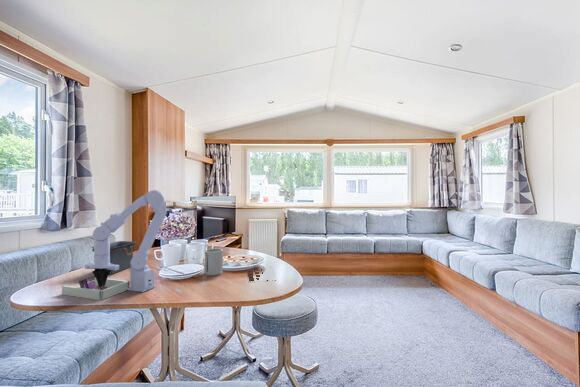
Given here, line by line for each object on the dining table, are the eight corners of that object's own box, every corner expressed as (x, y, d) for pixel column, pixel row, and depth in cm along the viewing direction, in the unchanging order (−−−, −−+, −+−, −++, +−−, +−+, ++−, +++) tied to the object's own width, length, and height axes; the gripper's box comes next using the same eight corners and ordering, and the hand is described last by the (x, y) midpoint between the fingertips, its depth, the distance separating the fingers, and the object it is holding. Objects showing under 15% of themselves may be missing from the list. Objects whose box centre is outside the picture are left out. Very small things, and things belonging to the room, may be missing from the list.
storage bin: (117, 265, 173) (117, 240, 173) (142, 266, 171) (142, 241, 171) (88, 275, 152) (88, 247, 152) (115, 276, 150) (115, 248, 150)
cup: (225, 270, 162) (225, 248, 162) (219, 275, 153) (219, 252, 153) (208, 270, 163) (208, 248, 163) (202, 275, 154) (202, 251, 154)
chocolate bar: (246, 268, 169) (246, 266, 169) (270, 267, 171) (270, 265, 171) (248, 283, 142) (248, 280, 142) (276, 281, 145) (276, 279, 145)
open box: (129, 289, 132) (129, 281, 132) (101, 300, 118) (101, 291, 118) (92, 284, 138) (92, 276, 138) (61, 294, 124) (61, 286, 124)
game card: (80, 280, 122) (99, 274, 131) (71, 283, 123) (90, 277, 132) (85, 296, 122) (103, 289, 131) (75, 299, 123) (94, 292, 132)
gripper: (124, 253, 130) (124, 284, 130) (93, 251, 132) (93, 282, 132) (112, 256, 123) (112, 289, 123) (80, 255, 125) (80, 287, 125)
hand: (101, 286), depth 127 cm, fingers closed
